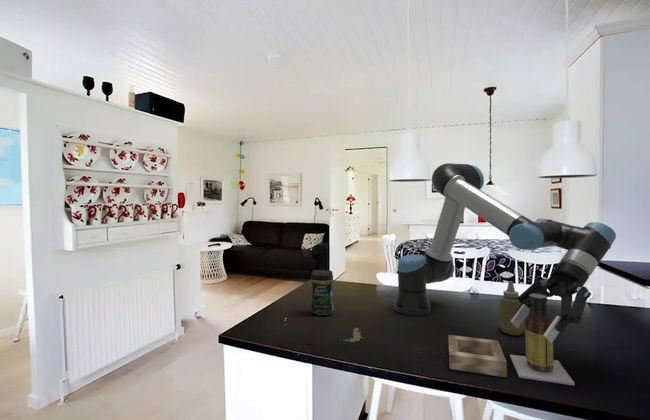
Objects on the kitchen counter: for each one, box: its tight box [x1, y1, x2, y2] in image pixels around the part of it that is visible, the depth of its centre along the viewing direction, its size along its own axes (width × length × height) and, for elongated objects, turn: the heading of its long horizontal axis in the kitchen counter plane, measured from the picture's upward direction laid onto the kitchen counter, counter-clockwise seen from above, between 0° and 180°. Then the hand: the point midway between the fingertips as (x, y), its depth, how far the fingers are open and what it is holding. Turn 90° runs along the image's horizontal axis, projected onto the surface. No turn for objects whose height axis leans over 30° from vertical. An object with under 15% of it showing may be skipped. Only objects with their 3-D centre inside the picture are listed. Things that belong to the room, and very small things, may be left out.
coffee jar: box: [310, 269, 335, 314], centre depth 135 cm, size 10×8×19 cm
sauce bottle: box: [524, 294, 554, 372], centre depth 86 cm, size 7×6×20 cm
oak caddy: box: [448, 334, 508, 378], centre depth 92 cm, size 14×14×4 cm
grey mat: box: [509, 354, 575, 386], centre depth 86 cm, size 12×12×1 cm
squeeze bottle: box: [498, 280, 526, 336], centre depth 111 cm, size 8×8×18 cm
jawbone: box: [344, 327, 363, 342], centre depth 106 cm, size 9×20×2 cm, turn 117°
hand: (529, 331), depth 85 cm, fingers open, 9 cm apart
